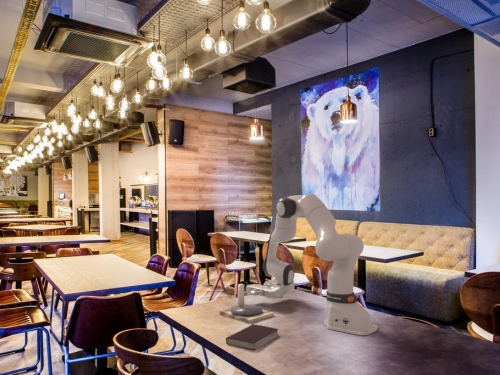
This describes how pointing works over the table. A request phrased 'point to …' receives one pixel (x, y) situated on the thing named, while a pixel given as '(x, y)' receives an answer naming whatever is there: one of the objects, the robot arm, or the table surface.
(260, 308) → the grey post stand
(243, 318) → the plate
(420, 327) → the table surface
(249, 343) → the book
